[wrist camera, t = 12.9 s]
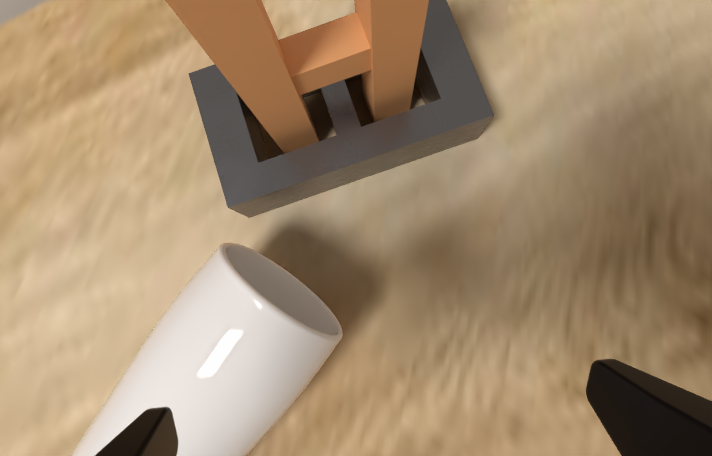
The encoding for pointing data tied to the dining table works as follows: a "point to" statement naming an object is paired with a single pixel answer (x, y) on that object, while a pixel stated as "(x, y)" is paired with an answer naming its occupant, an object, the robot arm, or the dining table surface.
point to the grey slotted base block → (345, 127)
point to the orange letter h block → (309, 58)
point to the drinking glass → (224, 357)
